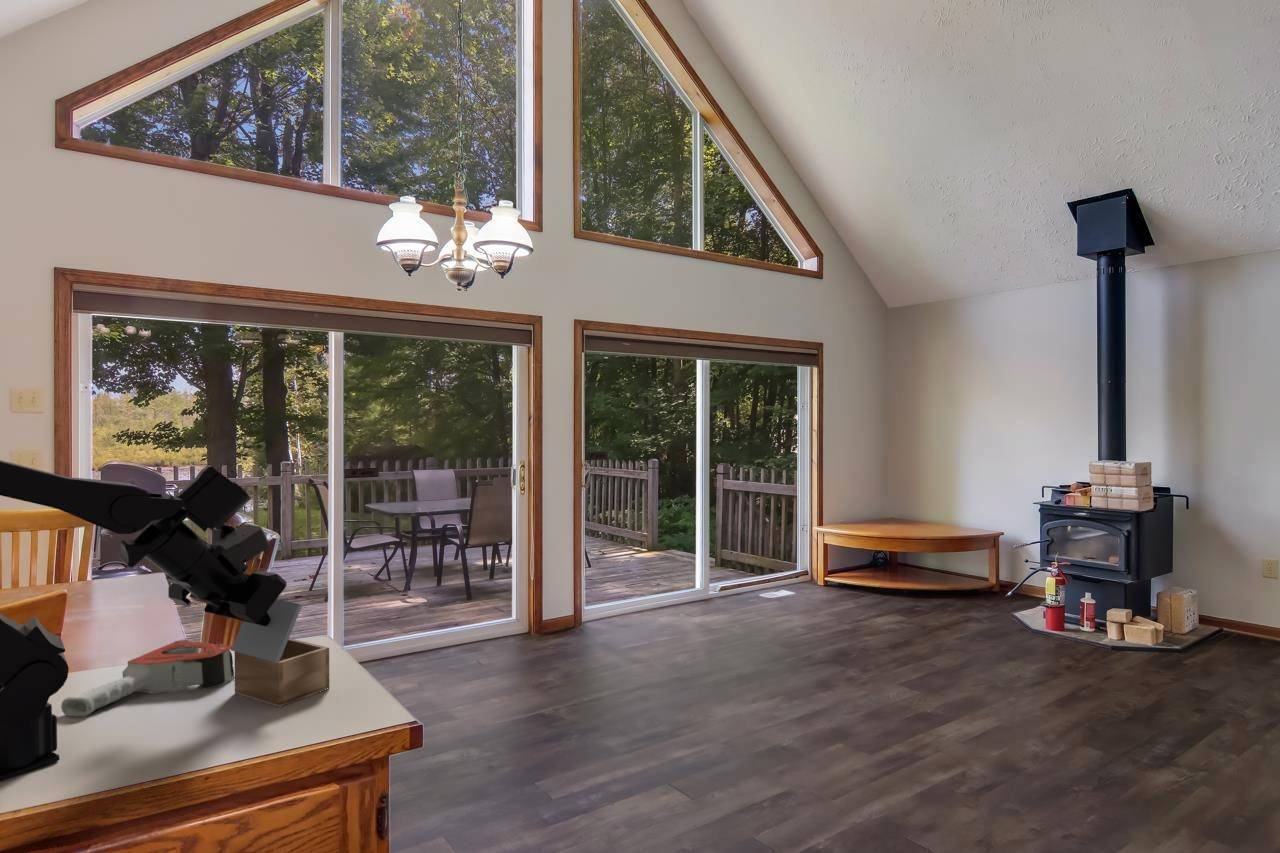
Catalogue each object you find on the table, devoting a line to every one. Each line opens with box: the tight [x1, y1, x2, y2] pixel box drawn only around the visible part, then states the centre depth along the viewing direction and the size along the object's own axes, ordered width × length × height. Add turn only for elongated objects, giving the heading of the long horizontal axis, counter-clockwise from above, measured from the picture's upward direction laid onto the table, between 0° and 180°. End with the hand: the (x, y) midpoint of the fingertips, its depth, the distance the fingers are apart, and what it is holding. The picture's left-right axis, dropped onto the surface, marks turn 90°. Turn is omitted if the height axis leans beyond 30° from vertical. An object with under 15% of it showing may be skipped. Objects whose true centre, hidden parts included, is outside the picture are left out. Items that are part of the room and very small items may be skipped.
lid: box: [230, 598, 303, 663], centre depth 108 cm, size 8×10×1 cm
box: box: [233, 637, 330, 708], centre depth 110 cm, size 8×10×6 cm
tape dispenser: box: [60, 638, 235, 717], centre depth 112 cm, size 18×5×20 cm
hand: (267, 622), depth 108 cm, fingers closed, pressing on lid
